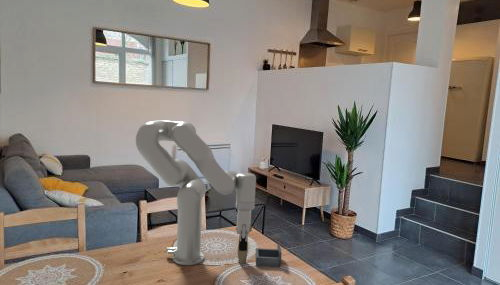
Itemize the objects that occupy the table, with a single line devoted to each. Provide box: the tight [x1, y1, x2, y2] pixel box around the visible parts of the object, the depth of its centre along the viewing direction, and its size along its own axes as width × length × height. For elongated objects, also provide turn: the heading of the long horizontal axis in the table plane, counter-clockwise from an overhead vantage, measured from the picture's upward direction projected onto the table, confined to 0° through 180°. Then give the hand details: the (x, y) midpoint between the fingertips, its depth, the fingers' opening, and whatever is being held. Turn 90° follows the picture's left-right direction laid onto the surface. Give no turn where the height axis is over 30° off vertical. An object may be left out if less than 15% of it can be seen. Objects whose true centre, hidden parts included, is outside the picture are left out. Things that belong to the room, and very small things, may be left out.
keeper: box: [254, 243, 282, 268], centre depth 146 cm, size 10×9×6 cm
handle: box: [235, 225, 253, 265], centre depth 143 cm, size 5×6×15 cm
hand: (242, 247), depth 143 cm, fingers closed on handle, 3 cm apart
